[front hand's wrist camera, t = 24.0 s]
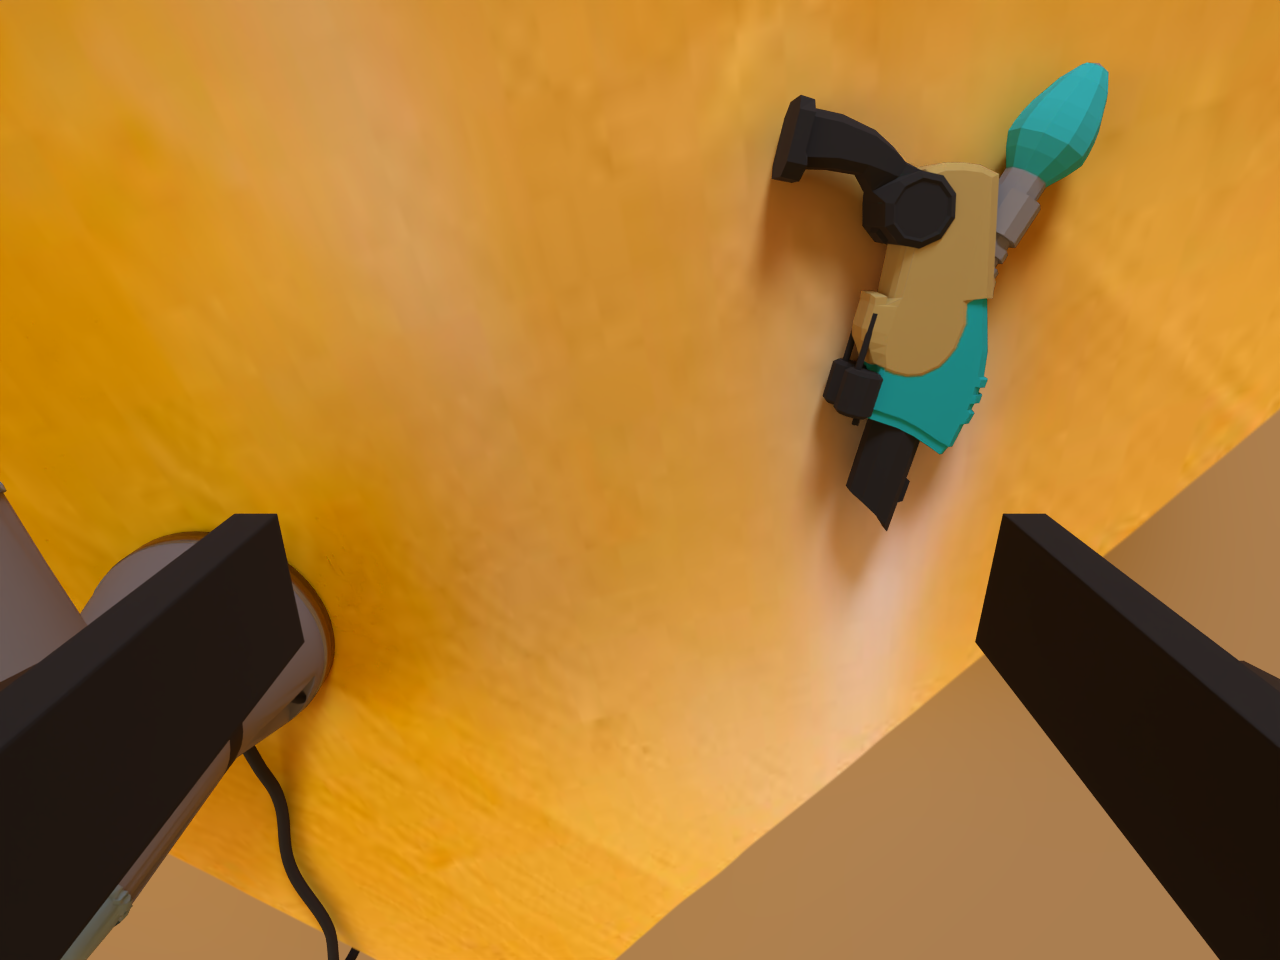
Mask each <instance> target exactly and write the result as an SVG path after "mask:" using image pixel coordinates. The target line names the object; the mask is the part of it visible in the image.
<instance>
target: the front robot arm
mask: <svg viewBox="0 0 1280 960" xmlns="http://www.w3.org/2000/svg"><path fill="white" fill-rule="evenodd" d="M6 491H7V490H6V489H5V487H4V485H3V484H2V483H1V482H0V960H87V958H88V957H89V956H90V955H91V954H92V952H93V951H94V950H95V949H96V948H97V946H98V945H99V944H100V943H101V942H102V940H103V939H104V938H105V937H106V936H107V934H108V933H109V932H110V931H111V930H112V928H113V927H114V926H116V925H117V924H119V923H120V922H121V921H122V920H123V919H124V918H125V917H126V916H127V915H128V913H129V911H130V908H131V907H132V903H133V902H134V901H135V899H136V898H137V896H138V895H139V894H140V892H141V891H142V889H143V888H144V887H145V885H146V884H147V882H148V881H149V879H150V878H151V877H152V875H153V874H154V872H155V871H156V870H157V868H158V867H159V865H160V864H161V863H162V861H163V860H164V858H165V857H166V856H167V854H168V853H169V851H170V850H171V849H172V847H173V846H174V844H175V843H176V842H177V840H178V839H179V837H180V836H181V834H182V833H183V832H184V830H185V829H186V827H187V826H188V825H189V823H190V822H191V820H192V819H193V818H194V816H195V815H196V813H197V812H198V811H199V809H200V808H201V806H202V805H203V804H204V802H205V801H206V799H207V798H208V797H209V795H210V794H211V792H212V791H213V789H214V788H215V787H216V785H217V784H218V782H219V781H220V780H221V778H222V777H223V775H224V774H225V773H226V771H227V770H228V769H229V767H230V766H231V764H232V763H233V762H234V761H235V759H236V758H237V757H239V756H240V755H241V754H243V755H244V756H245V758H246V760H247V761H248V763H249V765H250V766H251V768H252V770H253V771H254V773H255V774H256V776H257V777H258V778H259V780H260V781H261V782H262V784H263V785H264V786H265V788H266V789H267V791H268V792H269V794H270V796H271V798H272V801H273V804H274V807H275V811H276V816H277V824H278V838H279V847H280V853H281V858H282V862H283V865H284V868H285V871H286V873H287V876H288V878H289V880H290V882H291V883H292V885H293V887H294V888H295V890H296V891H297V893H298V894H299V896H300V897H301V898H302V900H303V901H304V902H305V904H306V905H307V906H308V908H309V909H310V910H311V912H312V913H313V915H314V916H315V918H316V919H317V921H318V922H319V924H320V926H321V928H322V930H323V932H324V934H325V937H326V942H327V951H328V960H339V953H338V941H337V935H336V931H335V928H334V925H333V923H332V920H331V918H330V917H329V915H328V913H327V911H326V910H325V908H324V907H323V905H322V904H321V902H320V901H319V900H318V898H317V897H316V896H315V894H314V893H313V892H312V890H311V889H310V887H309V886H308V885H307V883H306V882H305V880H304V878H303V877H302V875H301V873H300V871H299V869H298V867H297V865H296V862H295V859H294V856H293V852H292V847H291V838H290V822H289V813H288V808H287V803H286V799H285V796H284V793H283V791H282V788H281V786H280V784H279V783H278V781H277V780H276V778H275V777H274V775H273V774H272V773H271V771H270V770H269V768H268V767H267V765H266V764H265V762H264V761H263V759H262V757H261V755H260V754H259V752H258V750H257V749H256V747H255V745H256V744H257V743H259V742H260V741H262V740H263V739H264V738H266V737H267V736H269V735H270V734H272V733H273V732H274V731H276V730H277V729H279V728H280V727H282V726H283V725H285V724H286V723H287V722H289V721H290V720H292V719H293V718H294V717H295V716H297V715H298V714H299V713H300V712H301V711H302V710H303V709H304V708H305V707H306V706H307V705H308V704H309V703H310V702H311V701H312V699H313V698H314V696H315V695H316V693H317V692H318V690H319V689H320V687H321V686H322V684H323V683H324V681H325V680H326V678H327V676H328V674H329V672H330V669H331V666H332V662H333V658H334V648H335V645H334V633H333V628H332V624H331V621H330V618H329V615H328V613H327V610H326V608H325V606H324V604H323V602H322V601H321V599H320V598H319V596H318V594H317V593H316V591H315V590H314V589H313V588H312V586H311V585H310V584H309V583H308V582H307V580H306V579H305V578H304V577H303V576H302V575H301V574H300V573H299V572H298V571H296V570H295V569H294V568H293V567H292V566H291V565H289V564H288V562H287V558H286V553H285V549H284V544H283V539H282V535H281V530H280V526H279V521H278V516H277V514H234V515H232V516H231V517H230V518H228V519H227V520H226V521H224V522H223V523H222V524H220V525H219V526H218V527H217V528H215V529H214V530H213V531H211V532H182V533H176V534H171V535H167V536H163V537H160V538H157V539H155V540H152V541H150V542H148V543H146V544H144V545H143V546H141V547H140V548H138V549H137V550H135V551H134V552H132V553H131V554H129V555H128V556H127V557H125V558H124V559H122V560H121V561H119V562H118V563H117V564H116V565H115V566H114V567H113V568H112V569H111V570H110V571H109V572H108V573H107V574H106V576H105V577H104V578H103V579H102V580H101V582H100V583H99V585H98V586H97V588H96V589H95V591H94V594H93V596H92V597H91V598H90V600H89V601H88V603H87V604H86V606H85V607H84V609H83V610H82V612H81V613H80V614H79V612H78V610H77V609H76V607H75V606H74V604H73V603H72V601H71V600H70V598H69V597H68V595H67V594H66V592H65V590H64V589H63V587H62V586H61V584H60V583H59V581H58V580H57V578H56V577H55V575H54V574H53V572H52V571H51V569H50V567H49V566H48V564H47V563H46V561H45V560H44V558H43V556H42V555H41V553H40V552H39V550H38V548H37V547H36V545H35V544H34V542H33V540H32V539H31V537H30V535H29V534H28V532H27V531H26V529H25V527H24V526H23V524H22V523H21V521H20V519H19V518H18V516H17V514H16V513H15V511H14V510H13V508H12V506H11V505H10V503H9V502H8V500H7V498H6V497H5V495H4V492H6ZM975 642H976V644H977V645H978V646H979V647H980V649H981V650H982V651H983V653H984V654H985V655H986V657H987V658H988V659H989V660H990V662H991V663H992V664H993V666H994V667H995V668H996V670H997V671H998V672H999V673H1000V675H1001V676H1002V677H1003V679H1004V680H1005V681H1006V683H1007V684H1008V685H1009V686H1010V688H1011V689H1012V690H1013V692H1014V693H1015V694H1016V696H1017V697H1018V698H1019V699H1020V701H1021V702H1022V703H1023V705H1024V706H1025V707H1026V709H1027V710H1028V711H1029V712H1030V714H1031V715H1032V716H1033V718H1034V719H1035V720H1036V722H1037V723H1038V724H1039V725H1040V727H1041V728H1042V729H1043V731H1044V732H1045V733H1046V735H1047V736H1048V737H1049V738H1050V740H1051V741H1052V742H1053V744H1054V745H1055V746H1056V748H1057V749H1058V750H1059V751H1060V753H1061V754H1062V755H1063V757H1064V758H1065V759H1066V760H1067V762H1068V763H1069V764H1070V766H1071V767H1072V768H1073V770H1074V771H1075V772H1076V774H1077V775H1078V776H1079V777H1080V779H1081V780H1082V781H1083V783H1084V784H1085V785H1086V787H1087V788H1088V789H1089V791H1090V792H1091V793H1092V794H1093V796H1094V797H1095V798H1096V800H1097V801H1098V802H1099V804H1100V805H1101V806H1102V807H1103V809H1104V810H1105V811H1106V813H1107V814H1108V815H1109V817H1110V818H1111V819H1112V820H1113V822H1114V823H1115V824H1116V826H1117V827H1118V828H1119V829H1120V831H1121V832H1122V833H1123V835H1124V836H1125V837H1126V839H1127V840H1128V841H1129V843H1130V844H1131V845H1132V846H1133V848H1134V849H1135V850H1136V852H1137V853H1138V854H1139V856H1140V857H1141V858H1142V859H1143V861H1144V862H1145V863H1146V865H1147V866H1148V867H1149V869H1150V870H1151V871H1152V872H1153V874H1154V875H1155V876H1156V878H1157V879H1158V880H1159V882H1160V883H1161V884H1162V885H1163V887H1164V888H1165V889H1166V891H1167V892H1168V893H1169V895H1170V896H1171V897H1172V898H1173V900H1174V901H1175V902H1176V904H1177V905H1178V906H1179V908H1180V909H1181V910H1182V911H1183V913H1184V914H1185V915H1186V917H1187V918H1188V919H1189V921H1190V922H1191V923H1192V924H1193V926H1194V927H1195V928H1196V930H1197V931H1198V932H1199V934H1200V935H1201V936H1202V937H1203V939H1204V940H1205V941H1206V943H1207V944H1208V945H1209V947H1210V948H1211V949H1212V950H1213V952H1214V953H1215V954H1216V956H1217V957H1218V958H1219V959H1220V960H1280V679H1279V678H1277V677H1275V676H1273V675H1271V674H1269V673H1267V672H1265V671H1263V670H1261V669H1259V668H1257V667H1255V666H1253V665H1251V664H1249V663H1247V662H1245V661H1239V660H1237V659H1236V658H1235V657H1233V656H1232V655H1231V654H1229V653H1228V652H1227V651H1225V650H1224V649H1223V648H1221V647H1220V646H1219V645H1218V644H1216V643H1215V642H1214V641H1212V640H1211V639H1210V638H1208V637H1207V636H1206V635H1204V634H1203V633H1202V632H1200V631H1199V630H1198V629H1196V628H1195V627H1194V626H1192V625H1191V624H1190V623H1189V622H1187V621H1186V620H1185V619H1183V618H1182V617H1181V616H1179V615H1178V614H1177V613H1175V612H1174V611H1173V610H1171V609H1170V608H1169V607H1167V606H1166V605H1165V604H1164V603H1162V602H1161V601H1160V600H1158V599H1157V598H1156V597H1154V596H1153V595H1152V594H1150V593H1149V592H1148V591H1146V590H1145V589H1144V588H1142V587H1141V586H1140V585H1139V584H1137V583H1136V582H1135V581H1133V580H1132V579H1131V578H1129V577H1128V576H1127V575H1125V574H1124V573H1123V572H1121V571H1120V570H1119V569H1117V568H1116V567H1115V566H1113V565H1112V564H1111V563H1110V562H1108V561H1107V560H1106V559H1104V558H1103V557H1102V556H1100V555H1099V554H1098V553H1096V552H1095V551H1094V550H1092V549H1091V548H1090V547H1088V546H1087V545H1086V544H1085V543H1083V542H1082V541H1081V540H1079V539H1078V538H1077V537H1075V536H1074V535H1073V534H1071V533H1070V532H1069V531H1067V530H1066V529H1065V528H1063V527H1062V526H1061V525H1060V524H1058V523H1057V522H1056V521H1054V520H1053V519H1052V518H1050V517H1049V516H1048V515H1046V514H1003V516H1002V521H1001V526H1000V530H999V535H998V539H997V544H996V549H995V553H994V558H993V562H992V567H991V572H990V576H989V581H988V586H987V590H986V595H985V599H984V604H983V609H982V613H981V618H980V623H979V627H978V632H977V636H976V641H975ZM359 952H360V951H359V950H357V949H355V948H353V947H352V948H351V950H350V952H349V954H348V955H347V957H346V959H345V960H356V958H357V956H358V954H359Z"/></svg>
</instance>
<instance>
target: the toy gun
mask: <svg viewBox="0 0 1280 960" xmlns="http://www.w3.org/2000/svg"><path fill="white" fill-rule="evenodd" d="M1107 94H1108V71H1107V70H1106V69H1105V68H1104V67H1103V66H1101V65H1100V64H1099V63H1085V64H1082V65H1080V66H1078V67H1077V68H1075V69H1073V70H1072V71H1070V72H1068V73H1067V74H1065V75H1064V76H1062V77H1060V78H1059V79H1058V80H1056V81H1055V82H1054V83H1053V84H1052V85H1050V86H1049V87H1048V88H1047V89H1046V90H1045V91H1043V92H1042V93H1041V94H1040V95H1039V96H1037V97H1036V98H1035V99H1034V100H1033V101H1032V102H1031V103H1030V104H1029V105H1028V106H1027V107H1026V108H1025V109H1024V110H1023V111H1022V113H1021V114H1020V115H1019V116H1018V118H1017V119H1016V120H1015V122H1014V123H1013V125H1012V126H1011V128H1010V129H1009V131H1008V137H1007V145H1006V169H1005V171H1004V172H1003V174H1002V175H1001V177H1000V178H999V174H998V173H996V172H994V171H992V170H990V169H988V168H986V167H984V166H982V165H978V164H970V163H963V162H959V163H939V164H933V165H927V166H921V167H918V168H916V167H914V166H912V165H910V164H909V163H907V162H905V161H904V160H903V158H902V157H901V156H900V155H899V153H898V152H897V151H896V149H895V148H894V147H893V146H892V145H891V144H890V143H889V142H888V141H887V140H885V139H884V138H883V137H882V136H881V135H880V134H879V133H878V132H877V131H876V130H874V129H872V128H870V127H868V126H866V125H864V124H862V123H860V122H858V121H855V120H853V119H851V118H849V117H847V116H845V115H843V114H839V113H835V112H830V111H826V110H821V109H817V108H816V107H815V99H812V98H809V97H806V96H803V95H800V96H799V97H797V98H796V99H794V100H793V101H792V102H791V103H790V105H789V108H788V110H787V113H786V116H785V118H784V122H783V126H782V130H781V134H780V138H779V142H778V147H777V151H776V155H775V159H774V163H773V169H772V179H775V180H780V181H785V182H790V183H793V182H798V181H799V180H800V178H801V177H802V175H803V173H804V171H805V169H814V170H829V171H835V172H841V173H847V174H853V175H855V177H856V178H857V180H858V182H859V184H860V186H861V188H862V190H863V192H864V194H863V227H864V228H865V229H866V231H867V232H868V233H869V235H870V236H871V237H872V239H873V240H874V241H875V242H879V243H884V244H888V245H887V250H886V254H885V259H884V263H883V268H882V272H881V277H880V282H879V286H878V291H877V292H875V291H861V295H860V300H859V303H858V307H857V310H856V313H855V317H854V320H853V323H852V331H851V334H850V337H849V340H848V344H847V347H846V350H845V353H844V357H843V359H842V358H841V359H837V360H835V361H833V364H832V367H831V370H830V374H829V377H828V380H827V384H826V387H825V390H824V393H823V397H824V398H825V400H826V401H827V402H828V403H831V404H833V405H834V408H835V409H836V410H837V411H838V412H839V413H840V414H842V415H845V416H848V417H851V418H853V421H852V424H853V425H856V426H858V424H859V421H860V419H866V418H868V420H867V423H866V426H865V429H864V432H863V435H862V438H861V441H860V444H859V447H858V450H857V453H856V456H855V459H854V462H853V465H852V468H851V472H850V475H849V478H848V481H847V484H846V486H847V488H848V489H849V490H850V491H851V492H852V494H853V495H855V496H856V497H857V498H858V499H859V500H860V501H862V502H863V503H864V504H865V505H866V506H867V507H868V508H869V509H870V510H871V511H872V512H873V513H874V514H875V515H876V516H877V518H878V520H879V521H880V523H881V525H882V526H883V527H884V529H885V530H886V531H887V530H888V527H889V524H890V521H891V519H892V516H893V513H894V510H895V508H896V505H897V502H901V501H903V498H904V495H905V493H906V490H907V487H908V484H909V482H910V481H909V480H908V479H907V478H906V477H907V475H908V472H909V469H910V466H911V464H912V461H913V458H914V455H915V453H916V450H917V447H918V444H919V442H920V441H921V442H923V443H924V444H926V445H927V446H929V447H930V448H932V449H933V450H934V451H936V452H937V453H938V454H943V452H944V451H945V450H946V449H947V448H948V447H952V446H953V444H954V442H955V440H956V438H957V436H958V434H959V432H960V430H961V428H962V426H963V425H964V424H968V423H969V422H970V420H971V418H972V417H973V415H974V412H973V410H972V407H973V405H974V404H975V403H979V402H980V399H981V396H982V394H981V393H979V389H980V388H984V387H985V385H986V382H987V378H986V377H984V372H985V365H986V359H987V352H988V345H987V298H993V292H994V288H995V284H996V281H995V278H996V276H997V275H998V271H997V269H996V268H995V267H996V266H997V264H1003V262H1004V261H1005V259H1006V257H1007V256H1008V254H1007V251H1006V250H1007V249H1008V247H1011V248H1016V246H1017V245H1018V243H1019V241H1020V240H1021V238H1022V237H1023V235H1024V234H1025V232H1026V231H1027V229H1028V228H1029V226H1030V225H1031V223H1032V222H1033V220H1034V219H1035V217H1036V216H1037V214H1038V213H1039V211H1040V204H1039V203H1038V202H1037V200H1038V199H1039V197H1040V196H1041V194H1042V192H1043V191H1044V189H1045V188H1046V187H1047V186H1049V185H1051V184H1053V183H1055V182H1057V181H1059V180H1060V179H1062V178H1064V177H1066V176H1068V175H1069V174H1070V173H1072V172H1073V171H1075V170H1076V169H1078V168H1079V167H1081V166H1082V165H1083V163H1084V161H1085V160H1086V158H1087V157H1088V155H1089V153H1090V151H1091V149H1092V147H1093V145H1094V143H1095V140H1096V138H1097V135H1098V132H1099V129H1100V125H1101V121H1102V117H1103V113H1104V109H1105V105H1106V101H1107ZM854 343H855V344H856V348H857V351H858V355H859V357H858V360H857V361H853V360H849V359H850V356H851V352H852V349H853V346H854Z"/></svg>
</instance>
